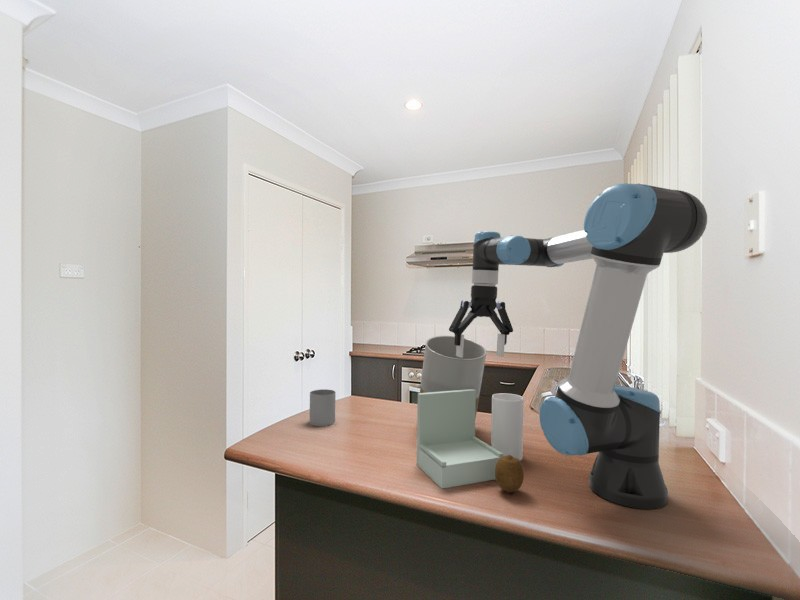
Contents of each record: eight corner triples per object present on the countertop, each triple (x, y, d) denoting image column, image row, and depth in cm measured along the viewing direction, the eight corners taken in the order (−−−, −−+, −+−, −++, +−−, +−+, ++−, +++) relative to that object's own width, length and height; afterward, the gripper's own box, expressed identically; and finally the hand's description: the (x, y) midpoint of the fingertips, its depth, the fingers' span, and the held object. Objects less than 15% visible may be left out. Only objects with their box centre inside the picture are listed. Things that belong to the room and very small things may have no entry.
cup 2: (523, 463, 106) (525, 401, 106) (491, 460, 107) (492, 399, 107) (521, 452, 114) (522, 394, 114) (490, 449, 115) (491, 392, 115)
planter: (425, 400, 146) (434, 331, 139) (478, 413, 141) (490, 343, 134) (409, 427, 129) (418, 350, 122) (468, 444, 124) (481, 364, 117)
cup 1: (308, 419, 140) (309, 390, 140) (332, 417, 143) (333, 388, 143) (310, 427, 132) (311, 395, 132) (336, 425, 135) (337, 394, 135)
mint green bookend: (502, 478, 97) (504, 401, 97) (441, 488, 91) (443, 407, 91) (471, 456, 110) (472, 389, 110) (416, 464, 104) (417, 393, 104)
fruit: (488, 491, 91) (489, 454, 90) (504, 482, 95) (504, 447, 95) (514, 501, 86) (515, 463, 86) (529, 491, 90) (529, 455, 90)
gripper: (512, 286, 129) (508, 352, 130) (440, 283, 120) (436, 354, 121) (527, 287, 122) (523, 357, 123) (452, 283, 113) (448, 359, 114)
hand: (480, 356), depth 122 cm, fingers open, 13 cm apart
